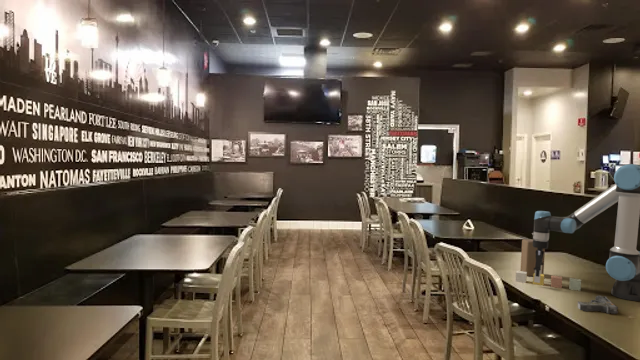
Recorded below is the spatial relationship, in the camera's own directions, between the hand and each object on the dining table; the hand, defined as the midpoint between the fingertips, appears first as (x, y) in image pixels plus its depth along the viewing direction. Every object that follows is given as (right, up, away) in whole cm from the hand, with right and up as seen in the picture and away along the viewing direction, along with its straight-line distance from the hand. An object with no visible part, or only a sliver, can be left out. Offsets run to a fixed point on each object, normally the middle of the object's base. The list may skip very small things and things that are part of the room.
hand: (537, 279), depth 243 cm
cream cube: (-7, -2, +4) cm, 8 cm away
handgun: (+7, -5, -38) cm, 39 cm away
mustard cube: (0, -2, 0) cm, 2 cm away
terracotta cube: (+8, -3, -4) cm, 9 cm away
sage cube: (+15, -3, -8) cm, 18 cm away
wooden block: (+6, -2, +20) cm, 21 cm away
